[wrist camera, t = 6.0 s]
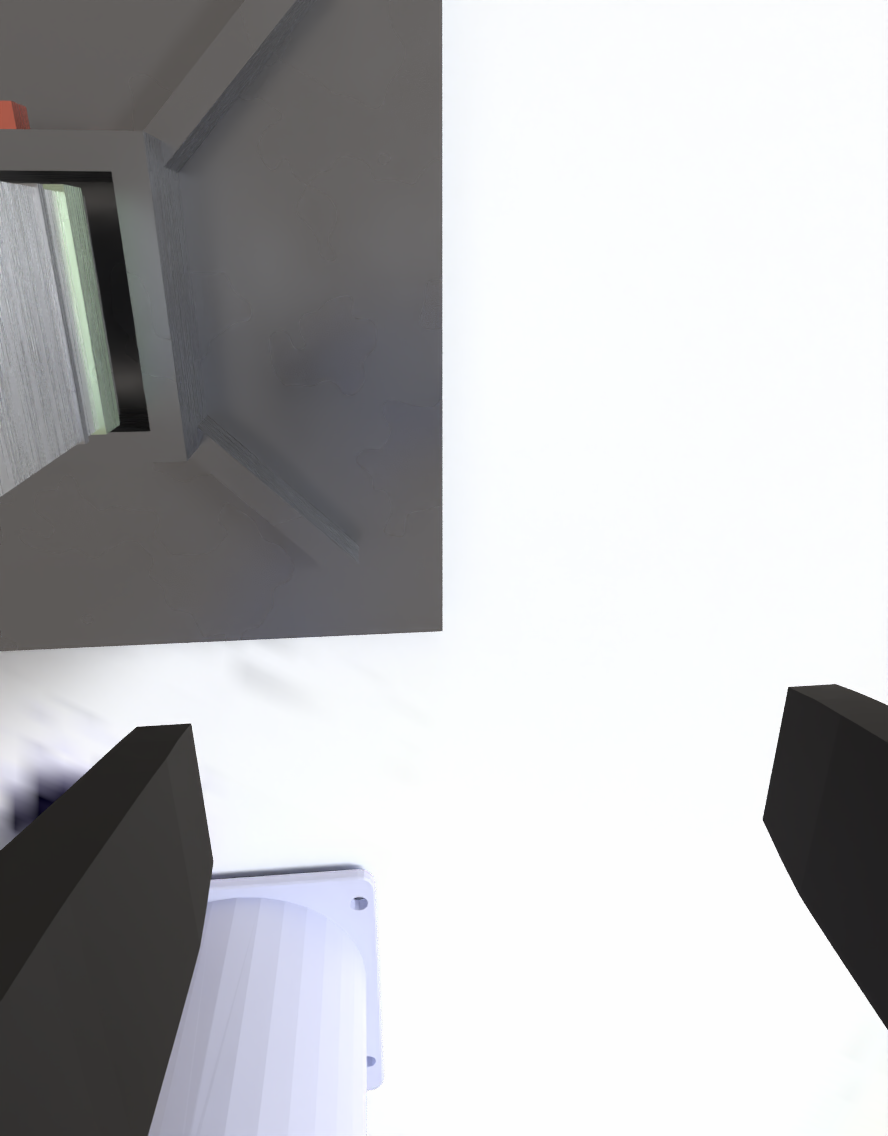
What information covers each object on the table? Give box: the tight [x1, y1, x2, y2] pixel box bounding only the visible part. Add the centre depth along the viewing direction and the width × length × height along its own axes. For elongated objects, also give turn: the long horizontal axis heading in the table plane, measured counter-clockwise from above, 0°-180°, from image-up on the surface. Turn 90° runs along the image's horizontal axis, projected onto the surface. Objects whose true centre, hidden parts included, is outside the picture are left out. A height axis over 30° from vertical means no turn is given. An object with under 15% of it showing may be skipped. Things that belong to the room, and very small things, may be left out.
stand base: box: [0, 0, 442, 651], centre depth 15 cm, size 16×16×3 cm
